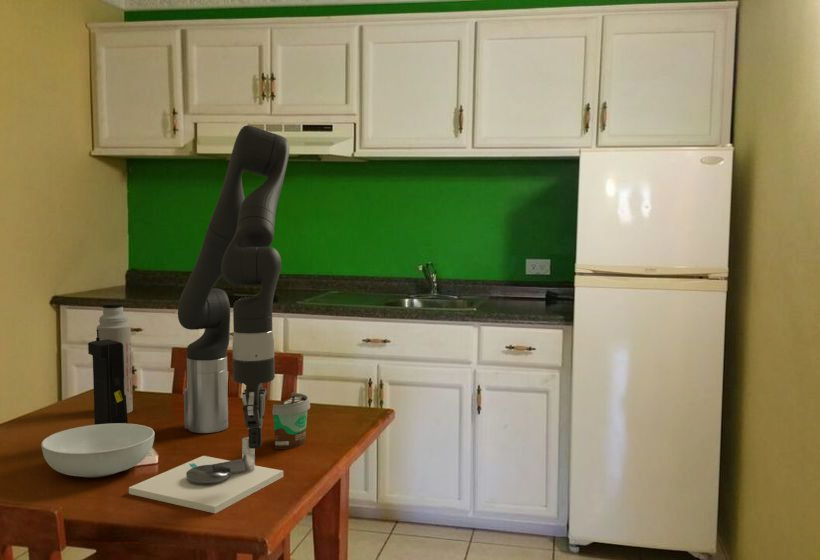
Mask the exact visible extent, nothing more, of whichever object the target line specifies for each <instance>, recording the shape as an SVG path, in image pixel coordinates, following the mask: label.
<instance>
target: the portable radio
mask: <svg viewBox="0 0 820 560" xmlns="http://www.w3.org/2000/svg"><path fill="white" fill-rule="evenodd" d="M95 331H96V338H95V340H92V341H90V342H87V344H88V345H87V349H88V350H87V351H88V355H92V380H93V382H92V383H93V409H94V412H93V413H94V417H93V418H94V424H93V425H97V424H112V423H126V424H129V423H128V421H129V420H128V413H127V404H126V395H125V393H124V352H123V344H122V343H121V342H117V341H113V340H109V339H107V340H100V338H99V335H98V331H99V330H97V329H95Z"/></svg>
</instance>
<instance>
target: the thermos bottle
mask: <svg viewBox="0 0 820 560" xmlns="http://www.w3.org/2000/svg"><path fill="white" fill-rule="evenodd" d="M102 308H103V310H102V315H100V316H99V320H98V322H99V325H97V326H96V330H99V331H98V335H99V338H100V340H107V339H109V340H113V341H117V342H121V343H122V344H123V352H124V393H125V395H126V404H127V414H129V413H131V412H132V411H133V407H134V406H133V404H134V402H133V376H132V374H133V373H132V370H133V369H132V336H131V335H132V334H131V333H132V332H131V324H130V323H128V316H127V315H126V314H124V313H125V312H124V303H121V302H107V303H103V304H102Z"/></svg>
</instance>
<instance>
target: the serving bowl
mask: <svg viewBox="0 0 820 560" xmlns="http://www.w3.org/2000/svg"><path fill="white" fill-rule="evenodd" d="M154 441H155V431H154V429H153V428H152V427H149V426H146V425H142V424H136V423H128V424H126V423H112V424H97V425H94V424H89V425H83V426H77V427H73V428H69V429H64V430H61V431H58V432H56V433H52V434H50V435H49V436H47V437H46V438H44V439H43V440H42V441H41V445H40V446H41V452H42V455H43V458H44V460H45V461H46V463H47V464H48V465H49V466H50V467H51V469H53V470H54V471H56V472H58V473H59V474H63V475H67V476H71V477H72V476H73V477H81V478H82V477H83V478H102V477H107V476H111V475H115V474H118V473H120V472H123V471H124V472H125V471H127V470H129V469H131V468H133V467H135V466H137V465H138V464H140V463H141V462H143V460H145V459H146V457H148V455H149V454H150V452H151V450H152V448H153V445H154Z"/></svg>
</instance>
